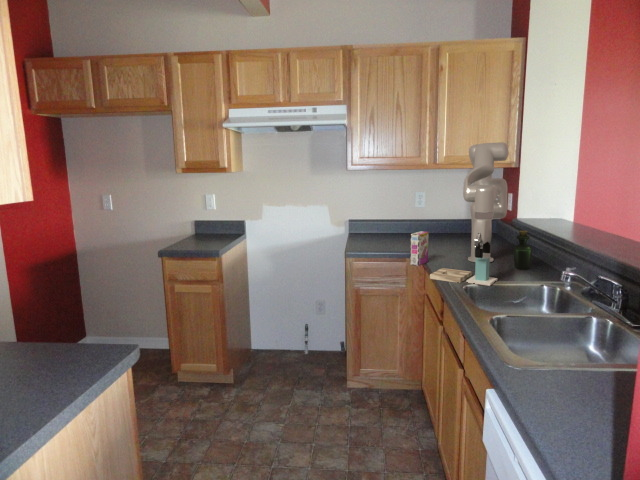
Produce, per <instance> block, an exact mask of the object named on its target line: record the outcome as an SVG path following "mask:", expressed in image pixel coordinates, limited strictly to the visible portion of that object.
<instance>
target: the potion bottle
mask: <svg viewBox="0 0 640 480" xmlns="http://www.w3.org/2000/svg"><path fill="white" fill-rule="evenodd" d="M528 232H529V231H528V230H519V231H518V234H519V235H516V238H515V239H517V240H518V244H516V245H514V247H513V250H512V251H513V265H514V268H515V269H516V270H522V271H524V270H525V271H526V270H529V269H530V265H531V258H532V250H533V249H532V247H531V246H530V245H528V244H527V242H528V240H530V239H531V238H530V236H529V235H528Z"/></svg>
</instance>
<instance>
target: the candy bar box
mask: <svg viewBox="0 0 640 480" xmlns="http://www.w3.org/2000/svg"><path fill="white" fill-rule="evenodd" d="M429 233H430V232H429V231H424V230H423V231H417V232H414V233H410V258H409V259H410V263H409V265H410V266H415V267H420V266H421V265H422V266H423V265H424V264H427V263H428V262H429V237H430V236H429V235H430V234H429Z"/></svg>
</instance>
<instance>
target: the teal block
mask: <svg viewBox="0 0 640 480" xmlns="http://www.w3.org/2000/svg"><path fill="white" fill-rule="evenodd" d="M474 263H475V266H474V267H475V268H474V269H475V270H474V275H475V280H481V281H486V280H488V279H489V277H490V263H491V262H490V258H477V259H476V262H474Z"/></svg>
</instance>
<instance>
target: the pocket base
mask: <svg viewBox="0 0 640 480" xmlns="http://www.w3.org/2000/svg"><path fill="white" fill-rule="evenodd" d="M472 275H473V273H472V271H468V270H461V269H455V268H454V269H451V268H443V267H441V268H439V269H437V270H436V271H434V272H432V273H430V274H429V279H430V280H437V281H444V282H449V283H450V282H451V283H457V282H459V283H458V284H461V283H463V282H464V281H467V280H468V279H469V278H471V277H473V276H472ZM462 281H463V282H462Z"/></svg>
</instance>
